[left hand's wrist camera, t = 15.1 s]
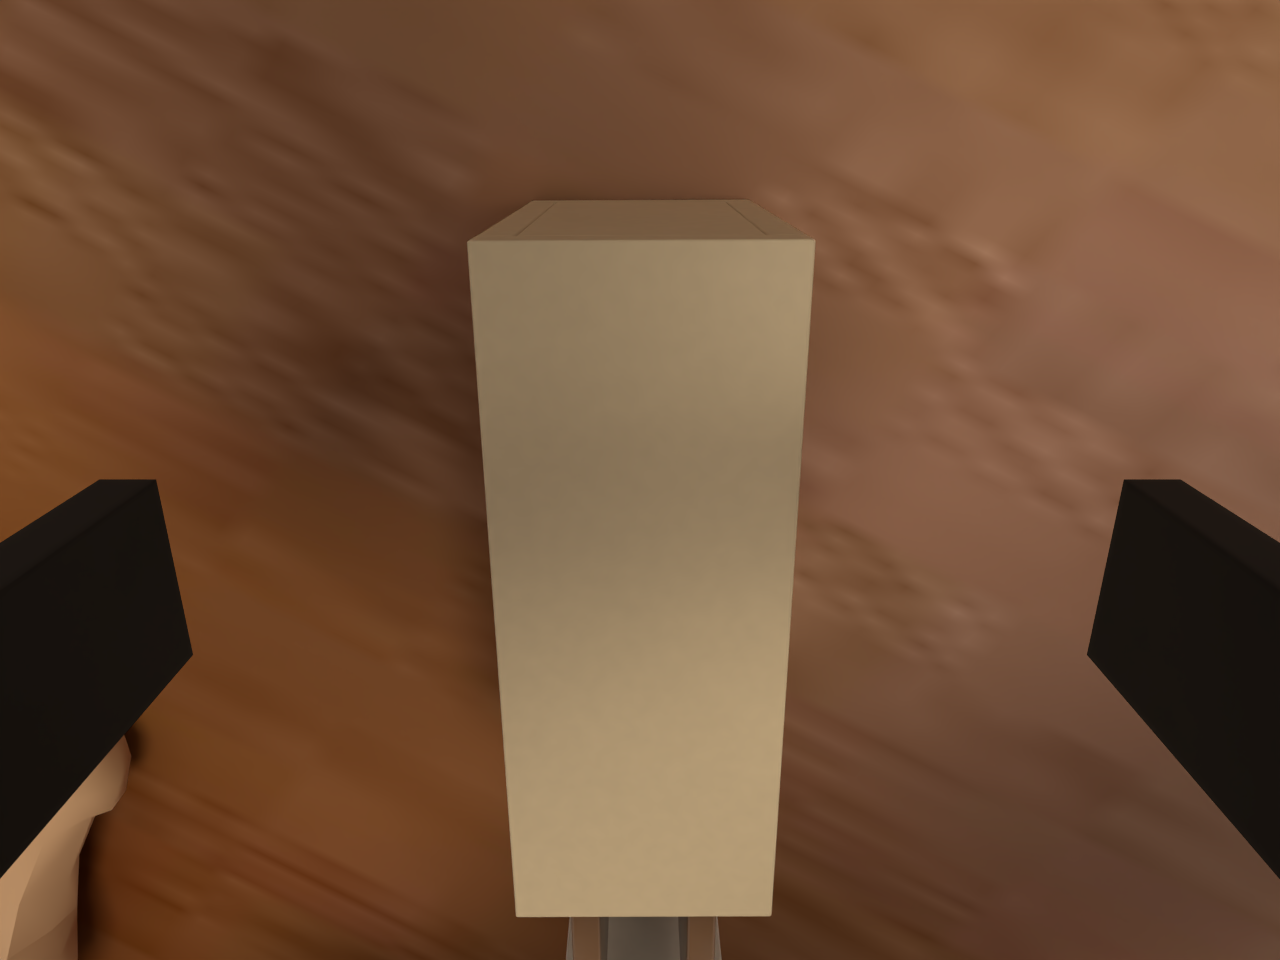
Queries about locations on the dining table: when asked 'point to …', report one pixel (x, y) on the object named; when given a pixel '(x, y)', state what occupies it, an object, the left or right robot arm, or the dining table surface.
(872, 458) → the dining table surface
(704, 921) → the drawer
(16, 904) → the squash
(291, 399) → the dining table surface
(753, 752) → the beige rectangular block
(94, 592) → the left robot arm
